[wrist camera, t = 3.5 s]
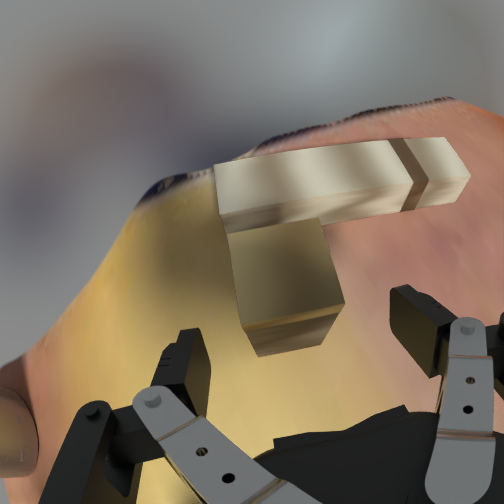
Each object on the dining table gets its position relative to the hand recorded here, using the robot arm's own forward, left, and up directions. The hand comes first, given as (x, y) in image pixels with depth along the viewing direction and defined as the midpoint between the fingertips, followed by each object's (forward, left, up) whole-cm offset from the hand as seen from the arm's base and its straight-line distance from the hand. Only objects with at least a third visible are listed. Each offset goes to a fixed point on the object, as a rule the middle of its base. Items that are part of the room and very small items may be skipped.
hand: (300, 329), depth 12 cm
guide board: (+8, +13, -9) cm, 17 cm away
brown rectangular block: (0, +3, -9) cm, 10 cm away
